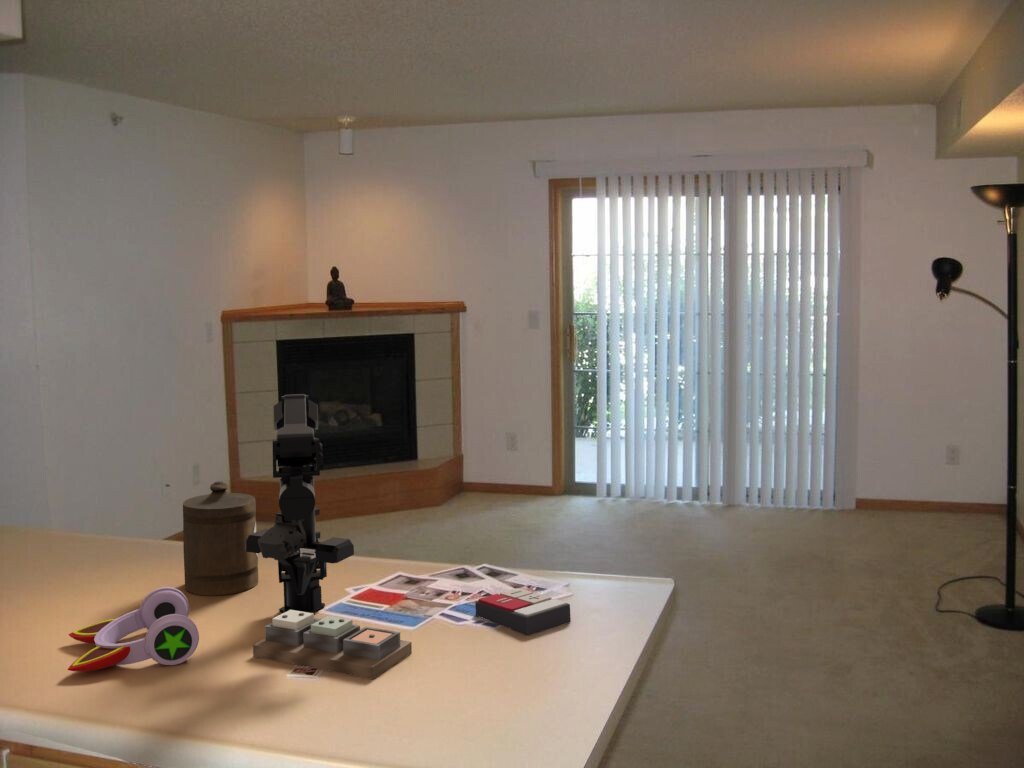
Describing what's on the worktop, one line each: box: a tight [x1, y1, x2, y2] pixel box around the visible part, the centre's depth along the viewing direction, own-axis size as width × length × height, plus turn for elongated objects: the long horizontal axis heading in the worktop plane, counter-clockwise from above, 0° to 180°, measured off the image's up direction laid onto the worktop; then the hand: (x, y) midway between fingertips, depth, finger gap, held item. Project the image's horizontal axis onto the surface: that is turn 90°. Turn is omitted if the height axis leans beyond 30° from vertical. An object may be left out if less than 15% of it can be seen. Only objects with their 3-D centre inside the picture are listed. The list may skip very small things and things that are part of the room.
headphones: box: [67, 586, 200, 673], centre depth 172 cm, size 20×10×20 cm
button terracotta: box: [351, 630, 393, 644], centre depth 166 cm, size 5×5×2 cm
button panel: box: [252, 617, 413, 680], centre depth 169 cm, size 24×12×4 cm, turn 65°
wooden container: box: [182, 480, 259, 597], centre depth 208 cm, size 15×15×22 cm
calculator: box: [474, 587, 572, 637], centre depth 187 cm, size 11×4×15 cm
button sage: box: [311, 615, 354, 637], centre depth 169 cm, size 5×5×2 cm
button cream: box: [271, 610, 315, 630], centre depth 172 cm, size 5×5×2 cm
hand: (300, 594), depth 171 cm, fingers closed
